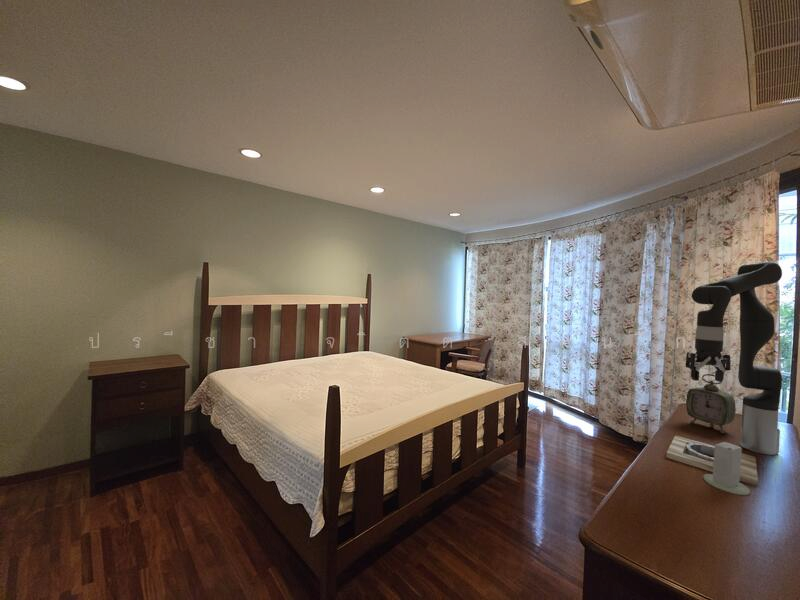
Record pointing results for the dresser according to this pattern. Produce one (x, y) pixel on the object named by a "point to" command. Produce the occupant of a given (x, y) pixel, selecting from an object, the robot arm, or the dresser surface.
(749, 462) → the striped wooden board
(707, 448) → the segmented octagonal ring
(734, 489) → the coaster
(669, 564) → the dresser surface
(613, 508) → the dresser surface
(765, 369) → the robot arm
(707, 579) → the dresser surface
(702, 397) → the tabletop clock
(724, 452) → the skincare box
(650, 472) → the dresser surface
